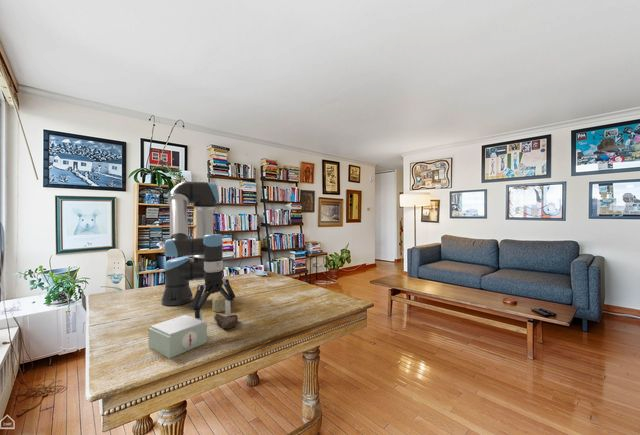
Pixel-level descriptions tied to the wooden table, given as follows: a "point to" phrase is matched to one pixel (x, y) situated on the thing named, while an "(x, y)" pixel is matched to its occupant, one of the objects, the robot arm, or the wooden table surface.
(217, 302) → the decorative object
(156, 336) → the scale
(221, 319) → the rock
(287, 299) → the wooden table surface
